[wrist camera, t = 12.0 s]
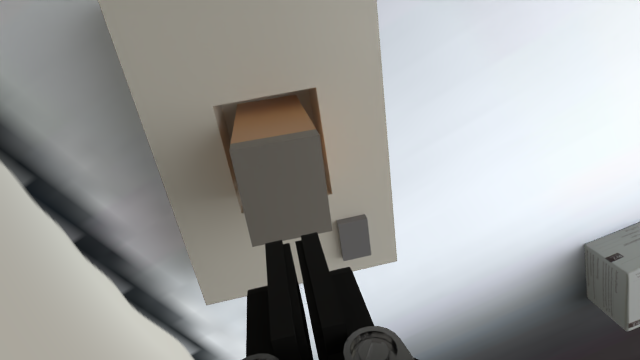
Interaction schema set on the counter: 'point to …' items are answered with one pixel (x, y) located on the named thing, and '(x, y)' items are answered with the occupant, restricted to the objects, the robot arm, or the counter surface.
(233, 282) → the socket plate
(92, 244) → the counter surface
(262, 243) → the two-tone square block
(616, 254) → the small box
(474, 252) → the counter surface
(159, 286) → the counter surface
